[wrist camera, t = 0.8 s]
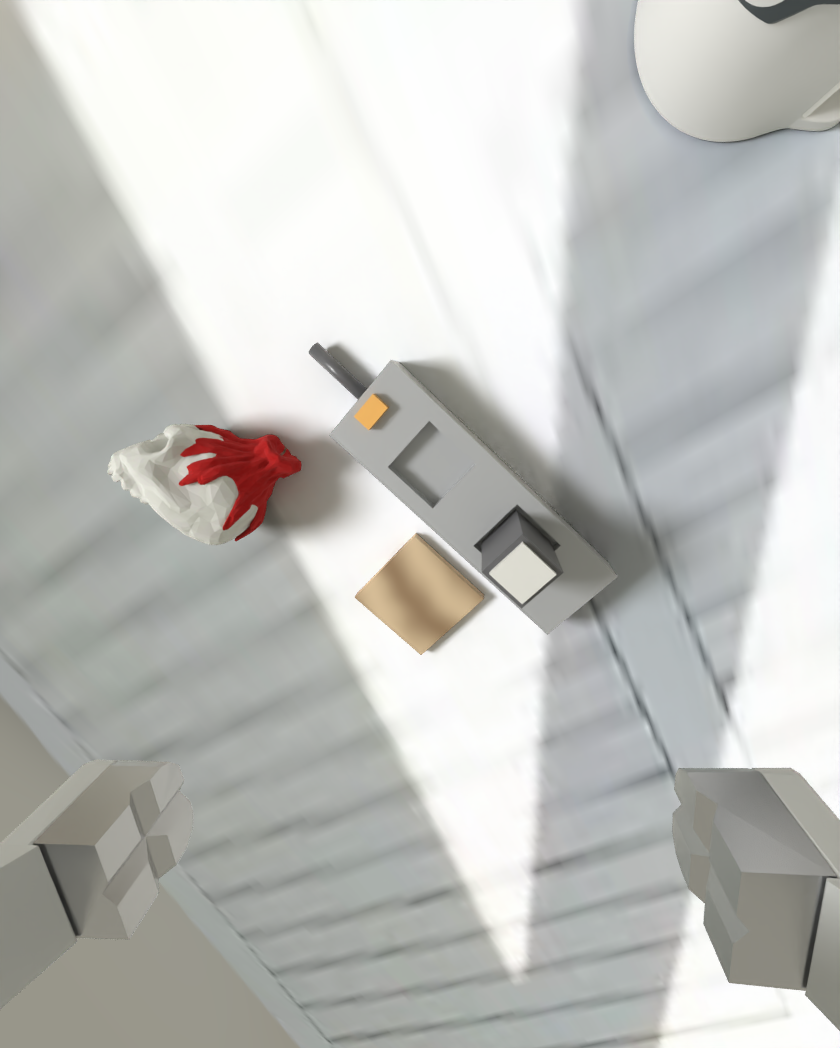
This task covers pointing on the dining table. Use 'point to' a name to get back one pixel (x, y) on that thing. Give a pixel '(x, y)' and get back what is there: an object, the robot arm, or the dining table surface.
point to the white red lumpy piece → (205, 479)
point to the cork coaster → (419, 594)
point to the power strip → (457, 482)
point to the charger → (519, 559)
